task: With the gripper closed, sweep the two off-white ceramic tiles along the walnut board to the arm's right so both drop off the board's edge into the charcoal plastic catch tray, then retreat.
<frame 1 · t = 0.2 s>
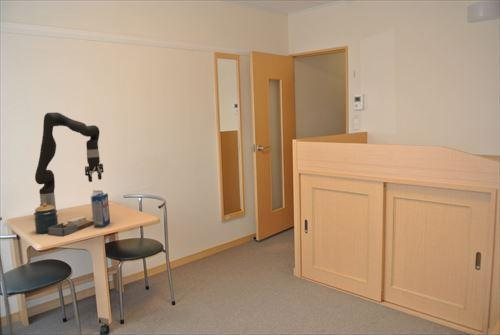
hand: (95, 180, 262), 28 cm above the table, fingers open, 8 cm apart
tile 2: (80, 222, 255), point 2 cm above the table, touching board
tile 1: (74, 224, 250), point 2 cm above the table, touching board
catch tray: (63, 232, 242), on the table
milk carton 2: (102, 225, 256), on the table
milk carton: (100, 217, 276), on the table
board: (78, 226, 254), on the table
canister: (47, 231, 248), on the table
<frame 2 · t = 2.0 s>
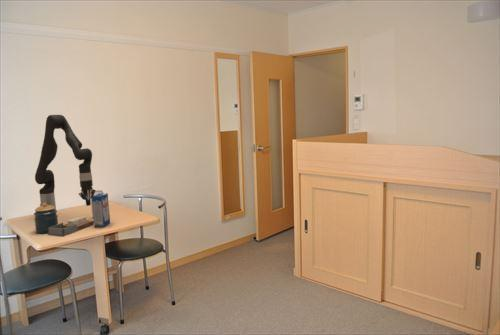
hand: (88, 205, 261), 12 cm above the table, fingers closed
nothing on the table moved.
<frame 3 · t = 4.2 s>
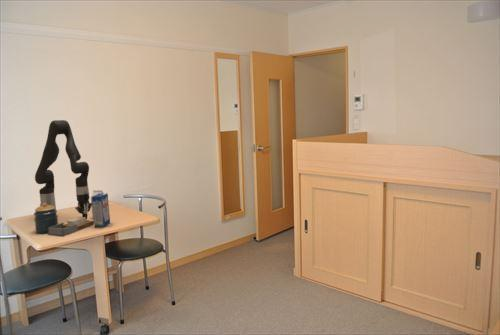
hand: (85, 219, 259), 4 cm above the table, fingers closed
tile 2: (80, 222, 255), point 3 cm above the table, touching gripper
everything else where it was.
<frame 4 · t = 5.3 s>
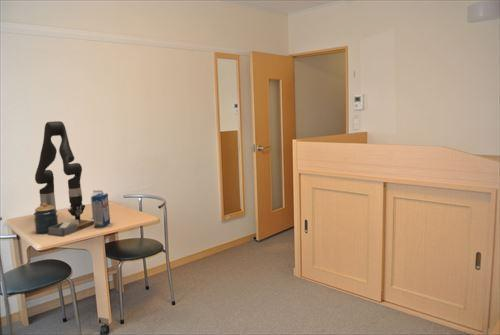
hand: (78, 221, 253), 4 cm above the table, fingers closed
tile 2: (73, 225, 249), point 3 cm above the table, touching gripper, tile 1
tile 1: (66, 228, 245), point 2 cm above the table, tilted 24°, touching catch tray, tile 2
everything else where it was.
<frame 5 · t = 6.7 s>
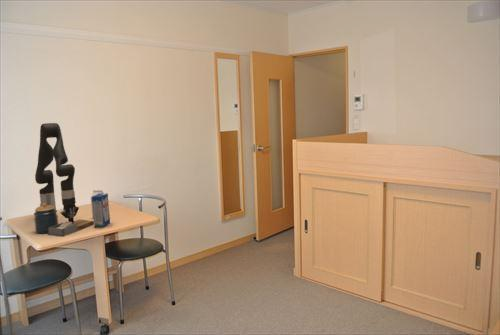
hand: (71, 223, 248), 4 cm above the table, fingers closed
tile 2: (67, 227, 245), point 2 cm above the table, tilted 16°, touching board, gripper, tile 1
tile 1: (60, 232, 240), point 1 cm above the table, touching catch tray, tile 2
everything else where it was.
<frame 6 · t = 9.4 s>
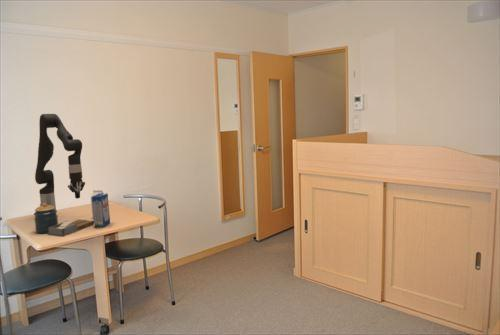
hand: (77, 198, 253), 18 cm above the table, fingers closed
tile 2: (67, 227, 245), point 2 cm above the table, tilted 16°, touching board, tile 1
everything else where it was.
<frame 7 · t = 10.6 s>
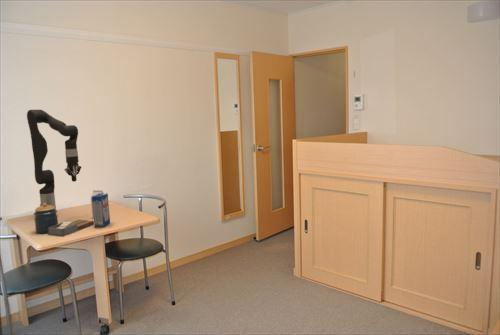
hand: (74, 181, 267), 27 cm above the table, fingers closed
nothing on the table moved.
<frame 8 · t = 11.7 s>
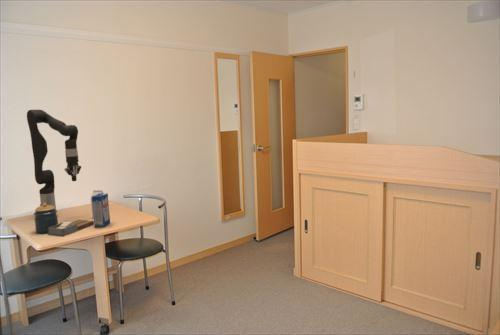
hand: (74, 181, 267), 27 cm above the table, fingers closed
nothing on the table moved.
at the end: tile 2 inside the target area (3.9 cm from its centre), point 2.0 cm above the table; tile 1 inside the target area (1.8 cm from its centre), point 0.6 cm above the table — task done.
